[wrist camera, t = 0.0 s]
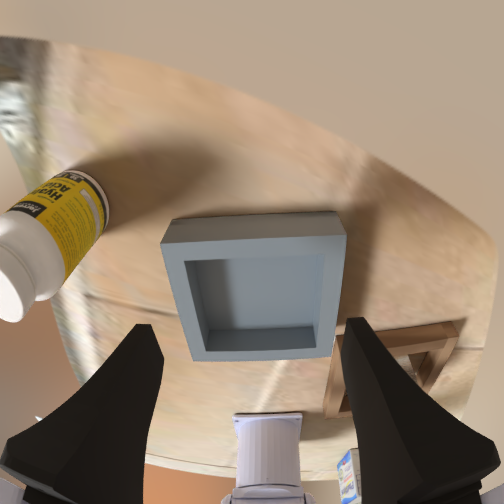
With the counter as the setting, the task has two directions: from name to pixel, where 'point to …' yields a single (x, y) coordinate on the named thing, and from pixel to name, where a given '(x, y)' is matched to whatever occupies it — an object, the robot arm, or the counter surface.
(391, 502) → the robot arm
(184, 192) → the counter surface
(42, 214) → the supplement bottle
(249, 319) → the tray
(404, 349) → the brown flat square frame
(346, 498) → the medicine box
